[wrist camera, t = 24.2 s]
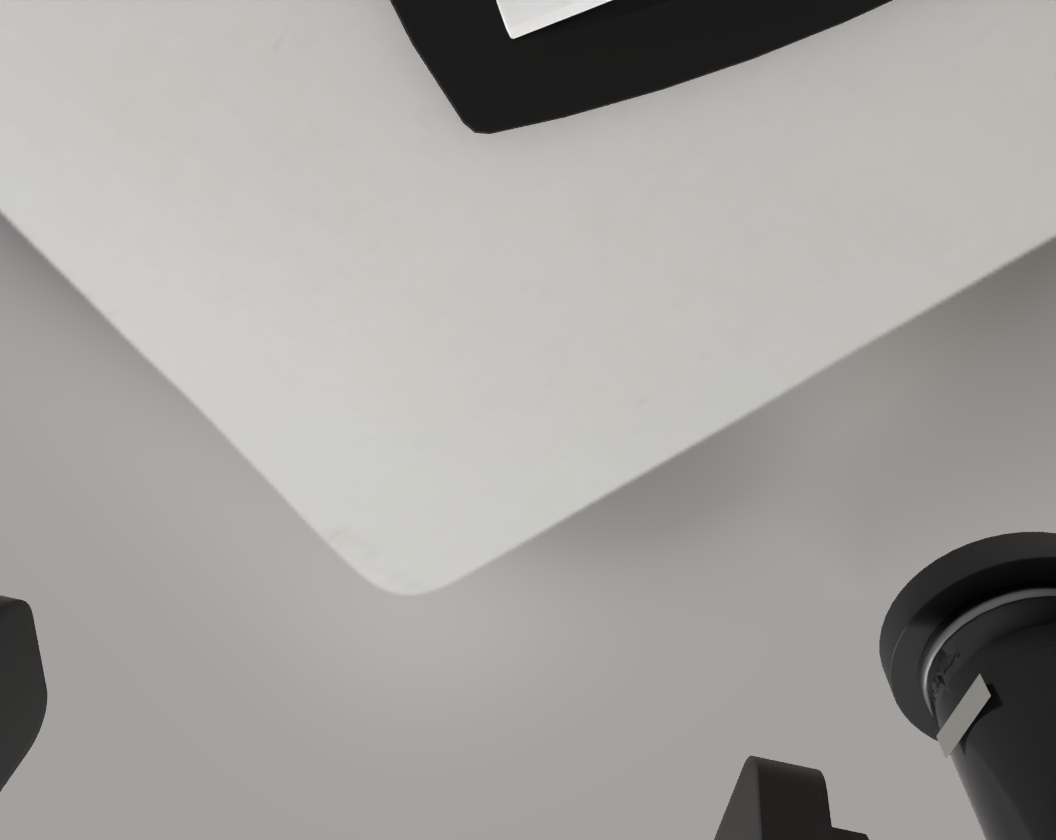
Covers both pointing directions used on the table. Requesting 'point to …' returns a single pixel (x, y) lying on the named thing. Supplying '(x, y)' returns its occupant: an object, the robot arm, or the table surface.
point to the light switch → (594, 48)
